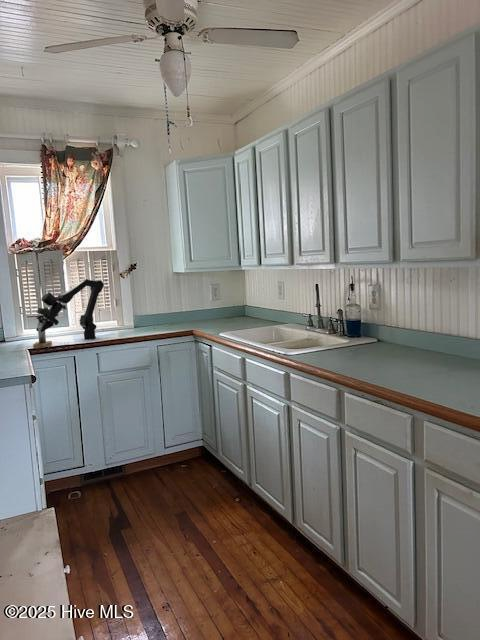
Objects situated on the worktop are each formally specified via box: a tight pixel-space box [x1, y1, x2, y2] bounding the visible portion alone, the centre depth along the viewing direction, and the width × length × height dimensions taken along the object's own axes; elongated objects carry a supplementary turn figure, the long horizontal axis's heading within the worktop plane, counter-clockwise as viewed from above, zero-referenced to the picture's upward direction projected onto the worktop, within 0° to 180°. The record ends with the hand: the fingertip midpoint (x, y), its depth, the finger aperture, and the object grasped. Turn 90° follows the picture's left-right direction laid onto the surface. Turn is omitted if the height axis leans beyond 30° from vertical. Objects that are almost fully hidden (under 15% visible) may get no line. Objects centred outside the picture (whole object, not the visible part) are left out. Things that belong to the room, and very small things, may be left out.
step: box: [32, 340, 53, 349], centre depth 294 cm, size 9×9×2 cm
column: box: [37, 322, 47, 343], centre depth 293 cm, size 4×4×12 cm
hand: (38, 331), depth 292 cm, fingers open, 5 cm apart
